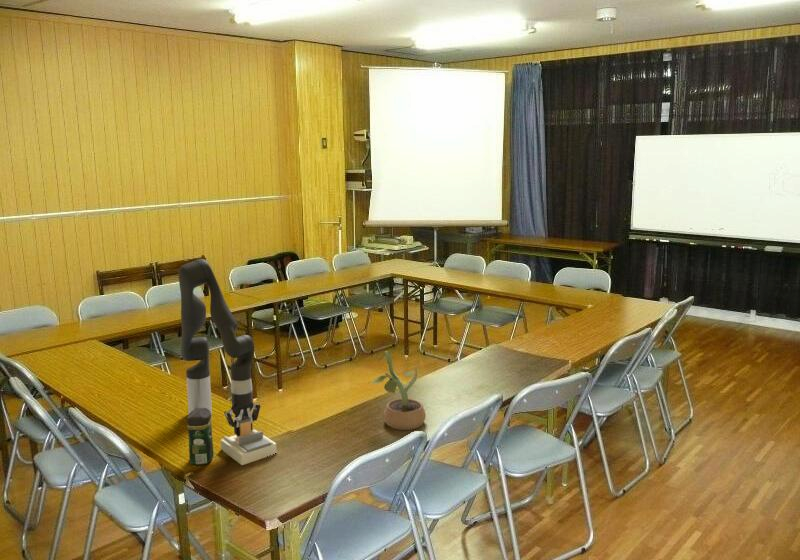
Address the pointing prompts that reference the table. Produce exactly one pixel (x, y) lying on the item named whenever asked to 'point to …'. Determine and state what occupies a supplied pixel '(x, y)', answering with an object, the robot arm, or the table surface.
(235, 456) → the socket
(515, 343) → the table surface
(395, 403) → the potted plant
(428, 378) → the table surface
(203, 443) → the coffee jar
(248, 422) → the plug
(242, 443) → the shutter
